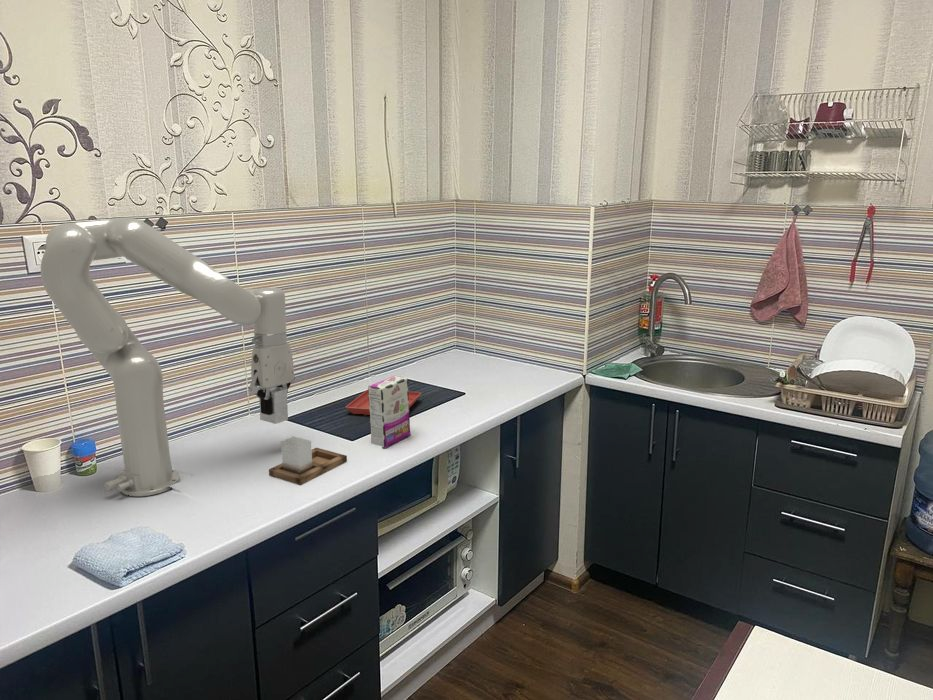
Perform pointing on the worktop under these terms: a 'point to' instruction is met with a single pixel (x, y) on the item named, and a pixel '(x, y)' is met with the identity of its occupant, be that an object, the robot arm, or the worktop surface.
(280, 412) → the billet
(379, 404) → the candy bar box
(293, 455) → the block
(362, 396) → the plant saucer
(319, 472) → the wooden divided tray
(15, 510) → the worktop surface
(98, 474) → the worktop surface
